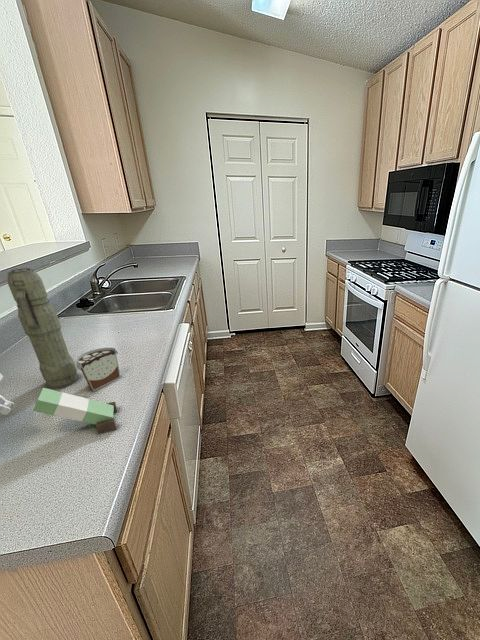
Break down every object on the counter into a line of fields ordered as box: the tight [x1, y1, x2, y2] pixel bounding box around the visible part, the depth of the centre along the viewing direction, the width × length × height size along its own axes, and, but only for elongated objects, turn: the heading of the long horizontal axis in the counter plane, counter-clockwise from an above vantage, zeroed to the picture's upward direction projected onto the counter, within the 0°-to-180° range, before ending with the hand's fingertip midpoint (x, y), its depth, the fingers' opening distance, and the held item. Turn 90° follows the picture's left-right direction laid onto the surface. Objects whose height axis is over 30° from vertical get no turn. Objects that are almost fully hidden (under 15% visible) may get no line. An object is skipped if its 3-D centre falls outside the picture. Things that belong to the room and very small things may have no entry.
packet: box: [32, 387, 114, 425], centre depth 82 cm, size 16×6×3 cm
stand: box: [95, 401, 118, 435], centre depth 86 cm, size 4×10×2 cm, turn 25°
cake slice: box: [75, 347, 121, 392], centre depth 103 cm, size 12×6×10 cm, turn 154°
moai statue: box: [6, 267, 80, 389], centre depth 98 cm, size 9×12×35 cm
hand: (10, 409), depth 75 cm, fingers closed
